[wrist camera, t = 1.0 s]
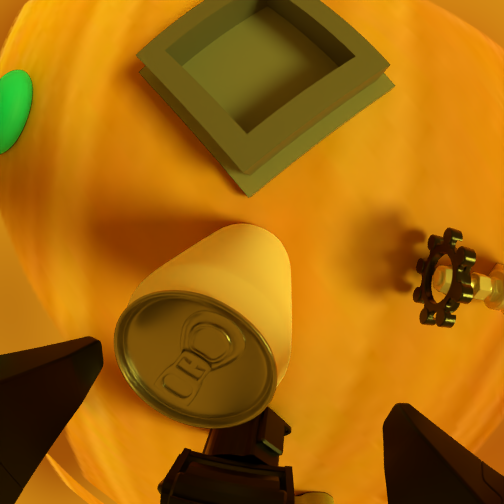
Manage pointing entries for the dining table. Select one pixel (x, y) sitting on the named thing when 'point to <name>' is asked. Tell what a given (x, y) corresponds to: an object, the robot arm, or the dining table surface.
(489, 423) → the dining table surface
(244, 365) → the can
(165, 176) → the dining table surface
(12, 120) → the donuts
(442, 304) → the valve
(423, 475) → the robot arm
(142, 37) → the dining table surface
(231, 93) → the socket holder
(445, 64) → the dining table surface
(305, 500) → the plant pot
